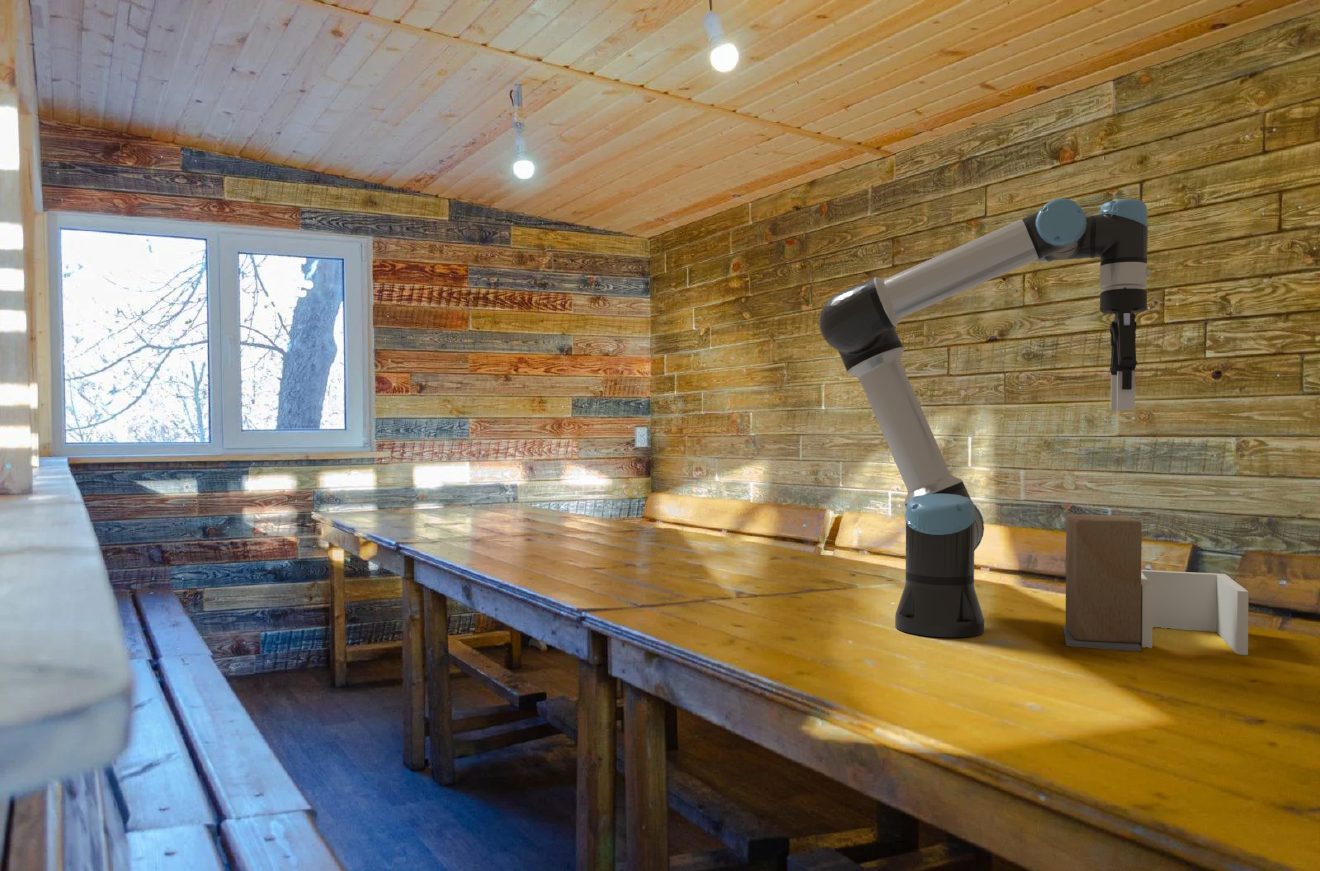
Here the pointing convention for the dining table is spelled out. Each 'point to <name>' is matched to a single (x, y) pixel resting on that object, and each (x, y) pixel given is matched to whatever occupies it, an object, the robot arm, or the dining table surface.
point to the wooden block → (1103, 578)
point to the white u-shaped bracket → (1194, 605)
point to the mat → (1099, 643)
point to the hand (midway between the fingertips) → (1122, 410)
